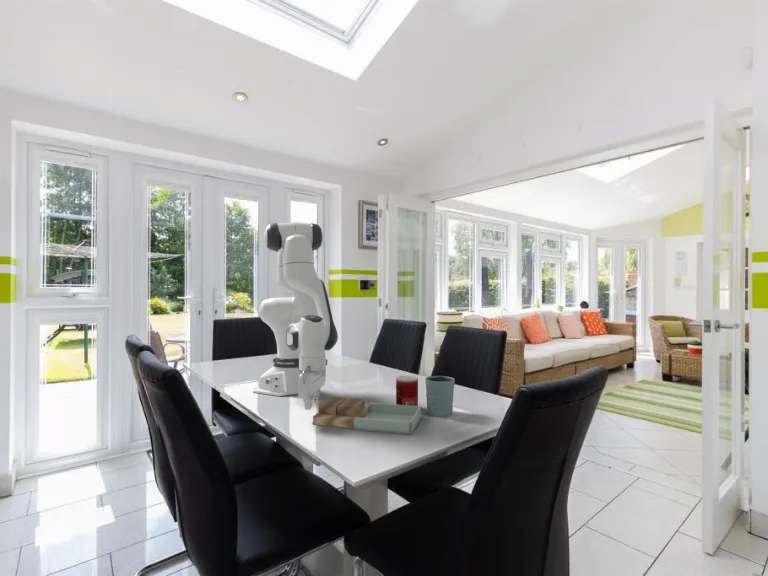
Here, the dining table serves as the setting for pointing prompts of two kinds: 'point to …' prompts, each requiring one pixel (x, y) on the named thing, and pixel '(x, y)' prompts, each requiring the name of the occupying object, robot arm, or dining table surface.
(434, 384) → the teal plant pot
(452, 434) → the dining table surface
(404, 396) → the canned food
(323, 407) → the tile
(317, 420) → the board
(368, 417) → the tray
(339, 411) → the tile
